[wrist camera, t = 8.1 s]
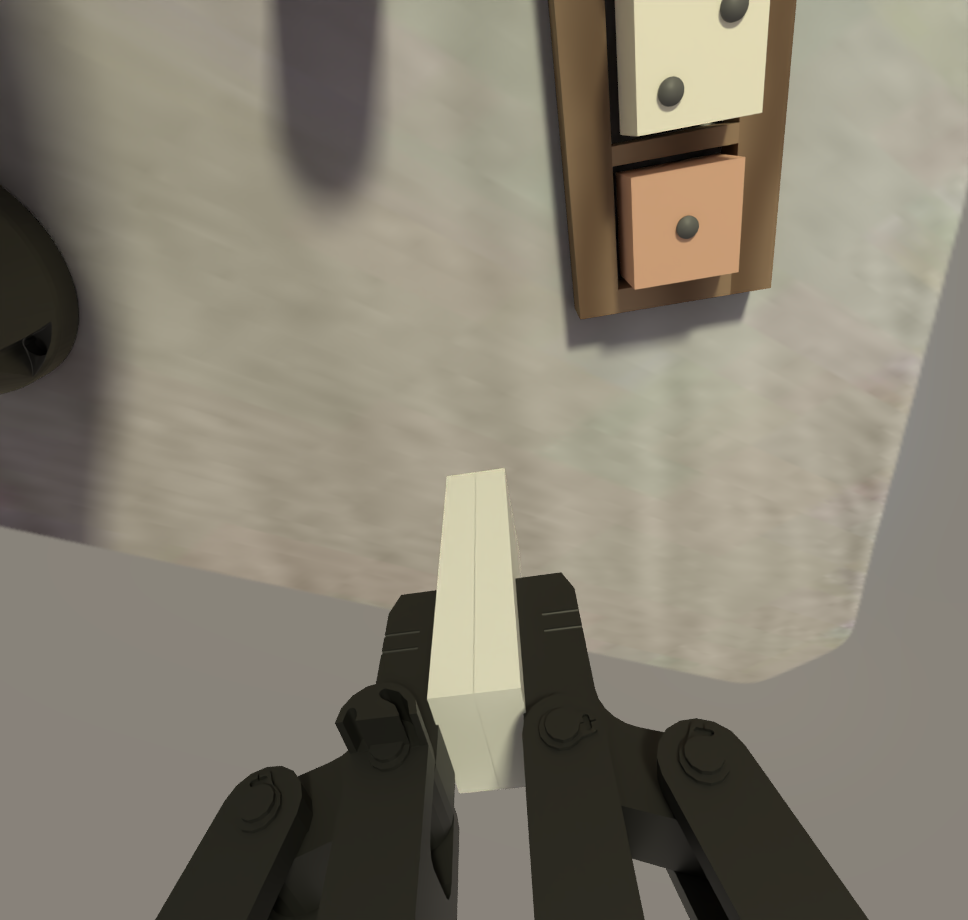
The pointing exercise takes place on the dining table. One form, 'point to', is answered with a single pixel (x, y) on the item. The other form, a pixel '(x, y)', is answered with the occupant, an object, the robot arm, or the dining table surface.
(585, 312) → the brown rectangular frame
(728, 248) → the peach drawer with knob
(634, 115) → the cream two-knob drawer
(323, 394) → the dining table surface
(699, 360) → the dining table surface
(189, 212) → the dining table surface
